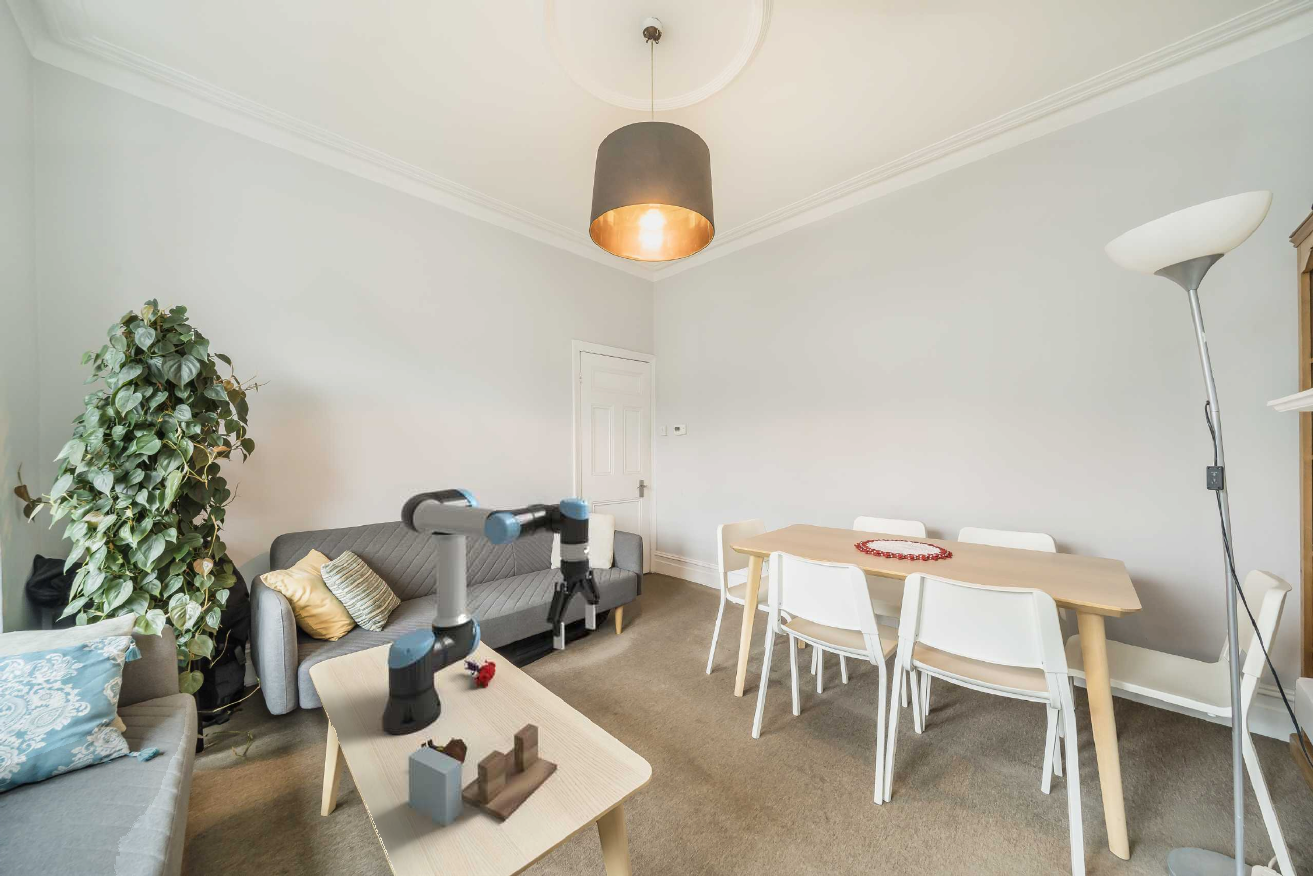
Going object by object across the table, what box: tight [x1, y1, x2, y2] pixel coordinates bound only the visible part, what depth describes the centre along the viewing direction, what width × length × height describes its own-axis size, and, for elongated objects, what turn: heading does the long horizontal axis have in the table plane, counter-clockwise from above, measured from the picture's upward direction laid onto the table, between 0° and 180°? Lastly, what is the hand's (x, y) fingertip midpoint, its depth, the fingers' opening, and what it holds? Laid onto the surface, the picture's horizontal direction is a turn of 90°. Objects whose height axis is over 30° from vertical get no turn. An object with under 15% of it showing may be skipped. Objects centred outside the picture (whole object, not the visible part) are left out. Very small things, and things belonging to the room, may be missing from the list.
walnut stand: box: [462, 723, 558, 822], centre depth 109 cm, size 14×17×9 cm
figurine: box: [464, 658, 497, 688], centre depth 155 cm, size 6×8×15 cm
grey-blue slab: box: [408, 745, 463, 827], centre depth 101 cm, size 12×4×11 cm, turn 63°
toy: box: [420, 737, 468, 765], centre depth 117 cm, size 10×7×15 cm
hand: (575, 637), depth 123 cm, fingers open, 13 cm apart
